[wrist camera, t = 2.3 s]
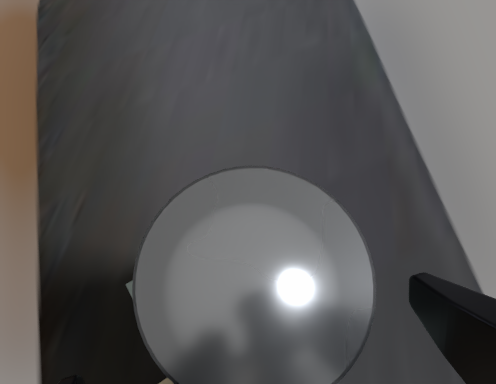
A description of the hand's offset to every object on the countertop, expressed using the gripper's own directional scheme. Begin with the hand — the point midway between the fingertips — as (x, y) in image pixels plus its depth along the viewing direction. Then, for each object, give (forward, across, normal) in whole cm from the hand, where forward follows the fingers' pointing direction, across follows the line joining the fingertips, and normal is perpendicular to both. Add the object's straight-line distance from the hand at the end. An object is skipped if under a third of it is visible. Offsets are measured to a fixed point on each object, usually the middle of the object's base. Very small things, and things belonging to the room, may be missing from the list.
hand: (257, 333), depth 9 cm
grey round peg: (+7, 0, +6) cm, 9 cm away
